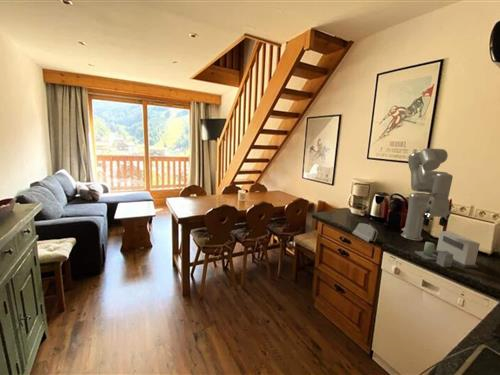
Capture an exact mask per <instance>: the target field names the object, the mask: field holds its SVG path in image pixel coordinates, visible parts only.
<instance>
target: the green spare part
mask: <svg viewBox="0 0 500 375" xmlns="http://www.w3.org/2000/svg"><path fill="white" fill-rule="evenodd" d="M435 246H436V244H435V243H433V242H430V241H425V243H424V246H423V247H424V248H423V251H422V252H423V254H424V255H426V256H429V257H432V256H433V254H434V249H435Z"/></svg>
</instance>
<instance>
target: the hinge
mask: <svg viewBox="0 0 500 375" xmlns="http://www.w3.org/2000/svg"><path fill="white" fill-rule="evenodd" d="M352 234H353V235H354V236H356V237H358V238H360V239H361V240H364V241H365V242H367V243H369V242H370V241H371V242H373V243H374V242H376V239H377V236H378V234H379V232H378V230H377V228H375V227H373V226H372V225H370V224H368V223H362V222H360V223H358V224H357V225H356V227H355V229H354V230H353V231H352Z"/></svg>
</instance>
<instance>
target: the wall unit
mask: <svg viewBox="0 0 500 375" xmlns="http://www.w3.org/2000/svg"><path fill="white" fill-rule="evenodd" d="M437 241H438V242H437V245H436V249H435V248H434V251H433V253H436V254H437V255H438V252H439V251H447V252H449V253H451V254H453V259H452V263H454V264H456V265H458V266H459V267H462V268H465V269H479V265H478V264H476V261H477V258H478V252H479V248H480V244H481V243H479V242H476V241H474V240H472V239H469V238H467V237H464V236H462V235H459V234H457V233H455V232H453V231H449V230H446V231H445V230H444V231H443V230H440V232H439V237H438V240H437Z"/></svg>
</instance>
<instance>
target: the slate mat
mask: <svg viewBox="0 0 500 375" xmlns="http://www.w3.org/2000/svg"><path fill="white" fill-rule="evenodd" d="M423 252H424V251H417V250H415V251H414V254H416V255H418V256H420V257H421V258H423V259H424V260H426V261H437V257H438V255H436V254H434V253H433V256H432V257H429V256H426V255H424V254H423Z"/></svg>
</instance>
